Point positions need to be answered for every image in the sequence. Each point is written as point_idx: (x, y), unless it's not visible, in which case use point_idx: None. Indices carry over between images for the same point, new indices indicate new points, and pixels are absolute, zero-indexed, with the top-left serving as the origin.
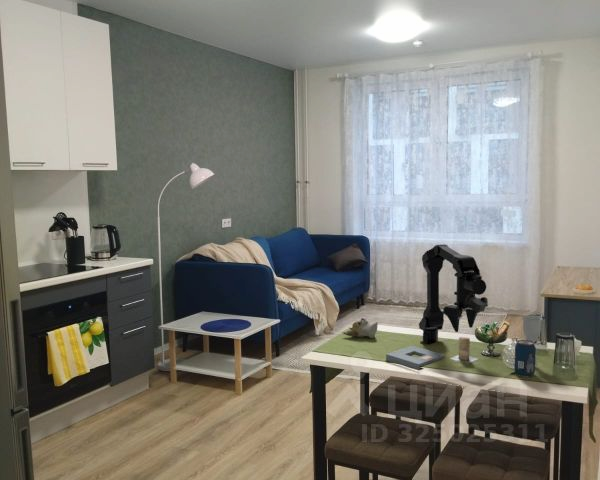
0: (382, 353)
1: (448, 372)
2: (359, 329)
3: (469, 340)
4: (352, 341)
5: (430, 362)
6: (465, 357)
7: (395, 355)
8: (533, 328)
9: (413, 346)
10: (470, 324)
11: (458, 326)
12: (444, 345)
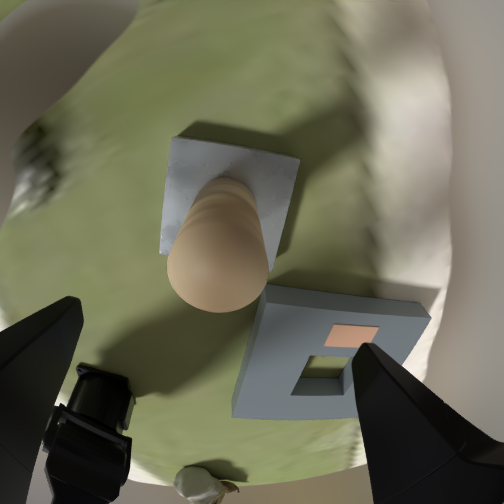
0: (301, 428)
1: (402, 207)
2: (221, 492)
3: (211, 219)
4: (251, 474)
5: (369, 306)
6: (250, 194)
7: None
8: None
9: (236, 413)
10: (67, 336)
11: (406, 383)
12: (84, 349)
